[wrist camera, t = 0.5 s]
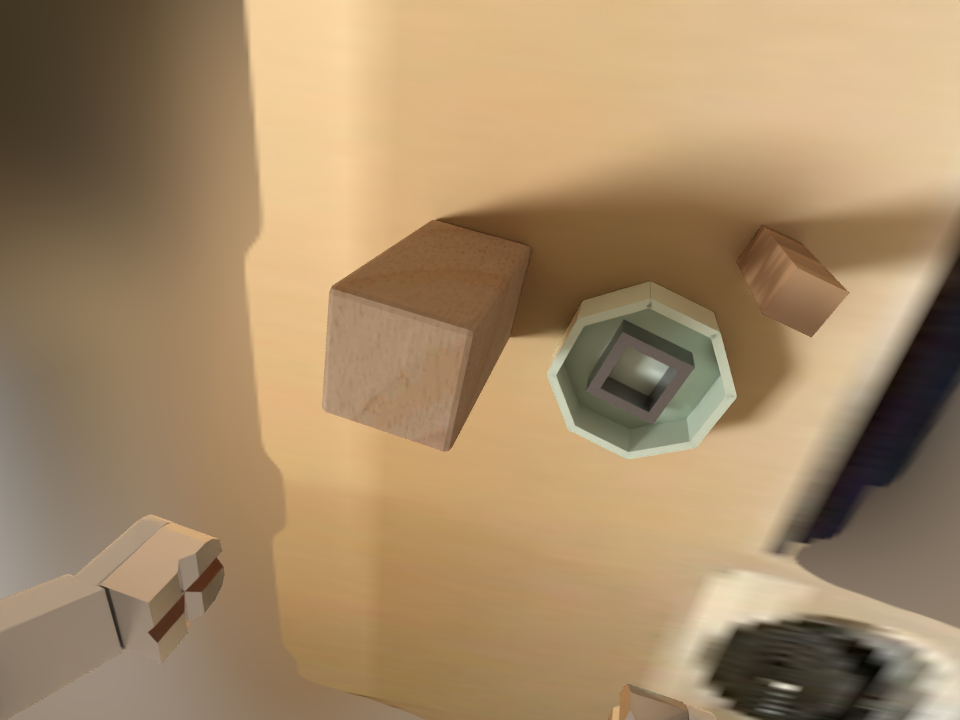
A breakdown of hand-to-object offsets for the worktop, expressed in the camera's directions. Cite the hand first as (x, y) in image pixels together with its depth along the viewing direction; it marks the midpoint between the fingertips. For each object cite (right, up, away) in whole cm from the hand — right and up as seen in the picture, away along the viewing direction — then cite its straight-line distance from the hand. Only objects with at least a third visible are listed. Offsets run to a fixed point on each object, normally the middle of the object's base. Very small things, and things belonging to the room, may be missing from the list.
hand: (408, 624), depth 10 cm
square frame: (+17, +5, +42) cm, 46 cm away
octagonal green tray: (+17, +5, +42) cm, 46 cm away
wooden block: (+1, +13, +43) cm, 45 cm away
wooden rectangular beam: (+25, +14, +35) cm, 45 cm away
